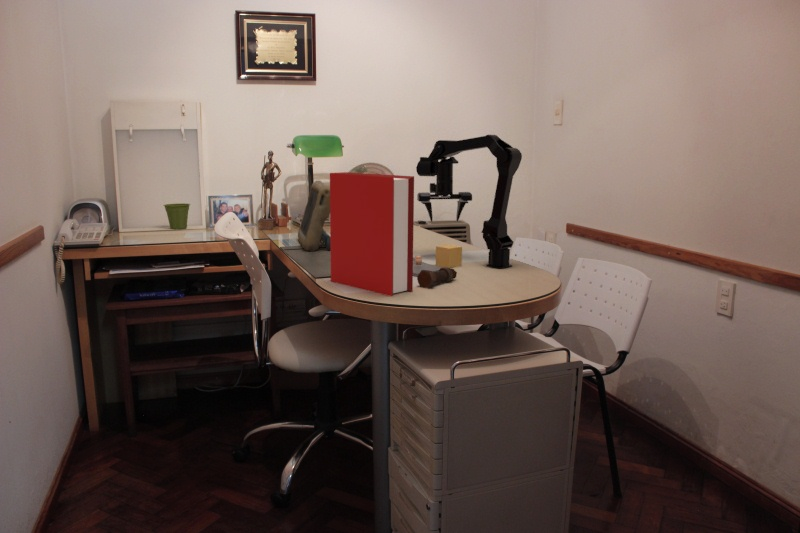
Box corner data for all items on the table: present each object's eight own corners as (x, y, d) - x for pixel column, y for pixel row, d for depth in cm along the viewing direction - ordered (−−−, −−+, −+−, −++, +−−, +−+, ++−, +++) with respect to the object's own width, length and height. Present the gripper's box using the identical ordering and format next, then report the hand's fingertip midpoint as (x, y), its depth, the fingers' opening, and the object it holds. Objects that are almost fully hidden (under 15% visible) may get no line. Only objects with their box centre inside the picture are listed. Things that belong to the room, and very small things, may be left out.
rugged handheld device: (291, 239, 272) (290, 180, 267) (323, 238, 276) (323, 179, 271) (304, 252, 241) (303, 185, 237) (341, 251, 246) (340, 185, 241)
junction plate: (448, 271, 209) (449, 256, 208) (417, 276, 200) (417, 261, 199) (419, 264, 220) (419, 250, 219) (388, 269, 210) (388, 254, 209)
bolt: (454, 285, 197) (426, 292, 185) (443, 275, 199) (414, 282, 188) (463, 270, 195) (435, 276, 183) (451, 260, 197) (422, 266, 185)
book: (412, 291, 181) (414, 176, 175) (392, 296, 175) (393, 177, 169) (348, 276, 199) (347, 172, 193) (327, 280, 194) (326, 173, 188)
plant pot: (184, 226, 310) (183, 202, 308) (195, 228, 301) (194, 204, 299) (160, 228, 302) (159, 204, 300) (171, 231, 294) (169, 206, 291)
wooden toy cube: (461, 265, 219) (462, 246, 217) (448, 267, 215) (449, 248, 213) (448, 263, 223) (448, 244, 222) (435, 265, 219) (436, 246, 218)
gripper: (466, 175, 235) (466, 218, 237) (415, 176, 233) (415, 219, 236) (472, 176, 224) (472, 221, 226) (419, 177, 222) (419, 222, 225)
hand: (444, 221), depth 229 cm, fingers open, 9 cm apart
